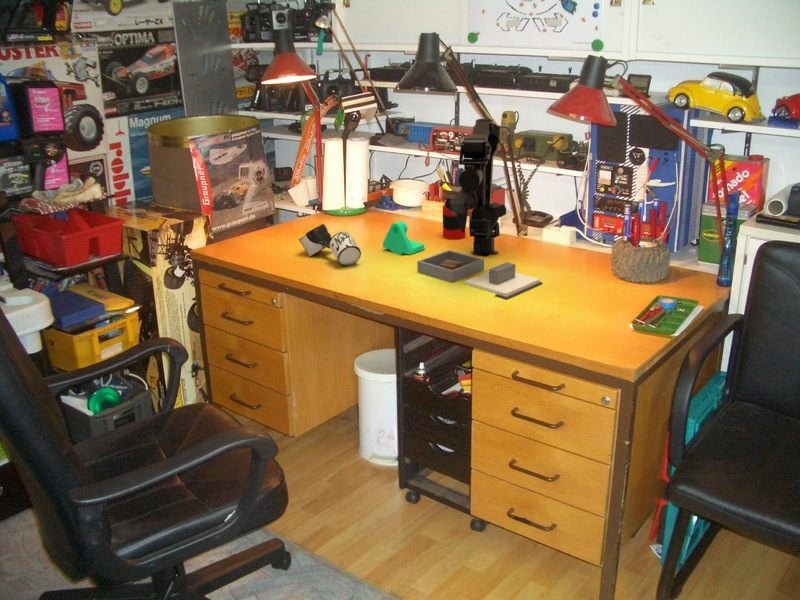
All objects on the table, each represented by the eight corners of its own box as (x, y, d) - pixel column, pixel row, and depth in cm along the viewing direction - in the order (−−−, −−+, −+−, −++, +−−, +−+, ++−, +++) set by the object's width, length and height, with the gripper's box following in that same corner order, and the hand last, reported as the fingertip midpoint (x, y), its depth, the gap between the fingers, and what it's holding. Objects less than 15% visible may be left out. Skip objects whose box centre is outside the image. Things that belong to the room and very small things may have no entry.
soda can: (457, 232, 274) (457, 198, 270) (469, 237, 268) (469, 202, 264) (438, 235, 271) (438, 201, 266) (450, 241, 265) (450, 206, 260)
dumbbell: (369, 263, 246) (367, 233, 243) (344, 271, 240) (342, 240, 236) (319, 247, 264) (317, 218, 260) (295, 254, 258) (292, 225, 254)
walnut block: (447, 267, 238) (447, 259, 237) (462, 269, 236) (462, 261, 235) (439, 272, 234) (439, 264, 233) (454, 274, 232) (454, 266, 231)
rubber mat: (498, 271, 235) (498, 270, 235) (542, 283, 224) (542, 282, 224) (462, 286, 225) (462, 284, 225) (506, 299, 214) (506, 297, 214)
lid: (498, 270, 234) (498, 254, 232) (539, 282, 224) (540, 265, 222) (464, 284, 225) (464, 267, 223) (506, 297, 214) (506, 279, 213)
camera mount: (425, 251, 256) (425, 221, 252) (409, 257, 251) (408, 226, 247) (399, 244, 263) (398, 215, 260) (383, 250, 258) (381, 220, 255)
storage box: (449, 262, 245) (449, 249, 243) (484, 272, 235) (484, 259, 234) (417, 273, 236) (417, 261, 234) (452, 284, 226) (452, 271, 225)
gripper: (431, 182, 225) (432, 235, 231) (481, 192, 212) (481, 248, 218) (457, 175, 232) (458, 227, 238) (507, 184, 219) (506, 238, 225)
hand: (474, 235), depth 229 cm, fingers open, 9 cm apart
